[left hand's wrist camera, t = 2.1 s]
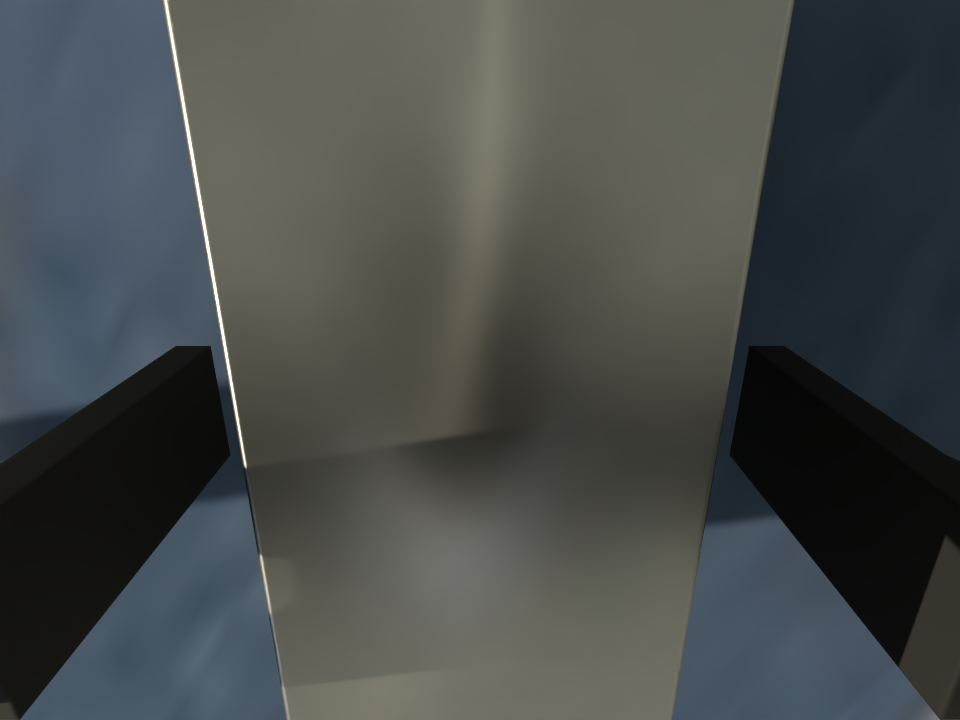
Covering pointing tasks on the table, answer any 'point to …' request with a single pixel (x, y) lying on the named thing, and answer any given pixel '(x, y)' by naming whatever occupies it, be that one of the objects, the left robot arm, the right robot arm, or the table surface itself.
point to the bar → (478, 330)
